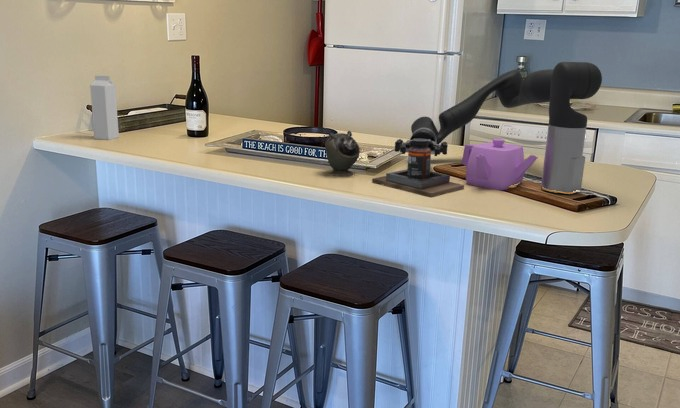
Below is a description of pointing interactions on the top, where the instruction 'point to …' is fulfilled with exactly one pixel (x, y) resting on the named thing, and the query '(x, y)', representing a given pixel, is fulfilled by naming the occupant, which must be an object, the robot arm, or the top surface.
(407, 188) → the dock board
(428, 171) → the supplement bottle
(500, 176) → the teakettle
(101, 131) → the milk
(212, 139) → the top surface
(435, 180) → the socket collar
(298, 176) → the top surface
